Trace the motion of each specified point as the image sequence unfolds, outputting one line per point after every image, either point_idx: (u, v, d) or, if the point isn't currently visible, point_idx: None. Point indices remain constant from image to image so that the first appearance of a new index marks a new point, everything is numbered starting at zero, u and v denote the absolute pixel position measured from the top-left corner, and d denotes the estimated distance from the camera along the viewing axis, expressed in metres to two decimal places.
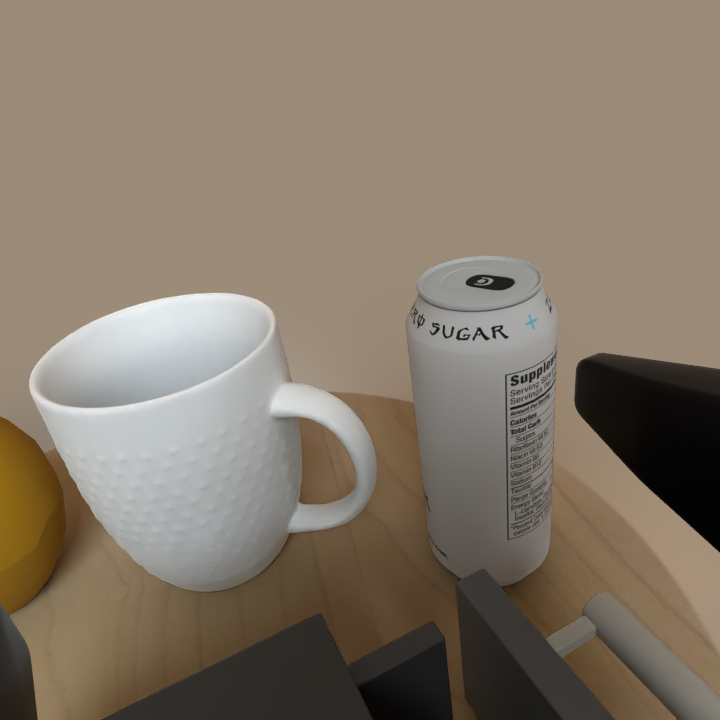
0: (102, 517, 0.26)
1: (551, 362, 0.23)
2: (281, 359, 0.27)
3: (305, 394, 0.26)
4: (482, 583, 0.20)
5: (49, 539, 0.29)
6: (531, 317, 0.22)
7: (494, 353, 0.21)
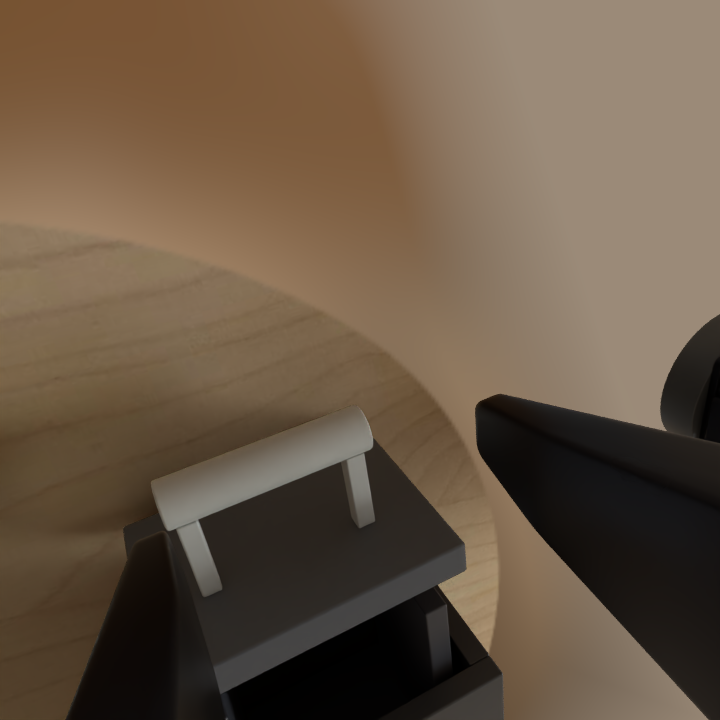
0: None
1: None
2: None
3: None
4: None
5: None
6: None
7: None
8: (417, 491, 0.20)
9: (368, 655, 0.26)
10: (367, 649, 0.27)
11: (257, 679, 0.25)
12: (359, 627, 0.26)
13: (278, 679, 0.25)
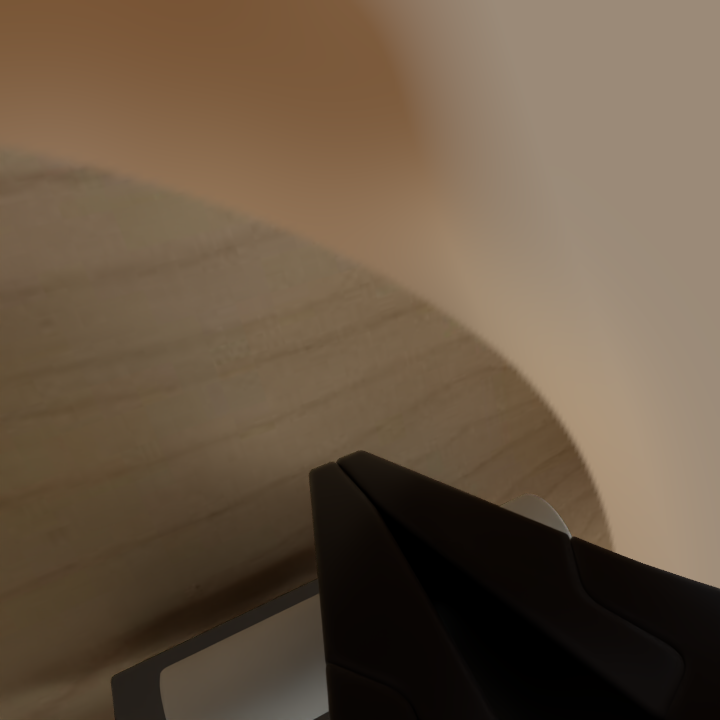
0: None
1: None
2: None
3: None
4: None
5: None
6: None
7: None
8: None
9: None
10: None
11: None
12: None
13: None
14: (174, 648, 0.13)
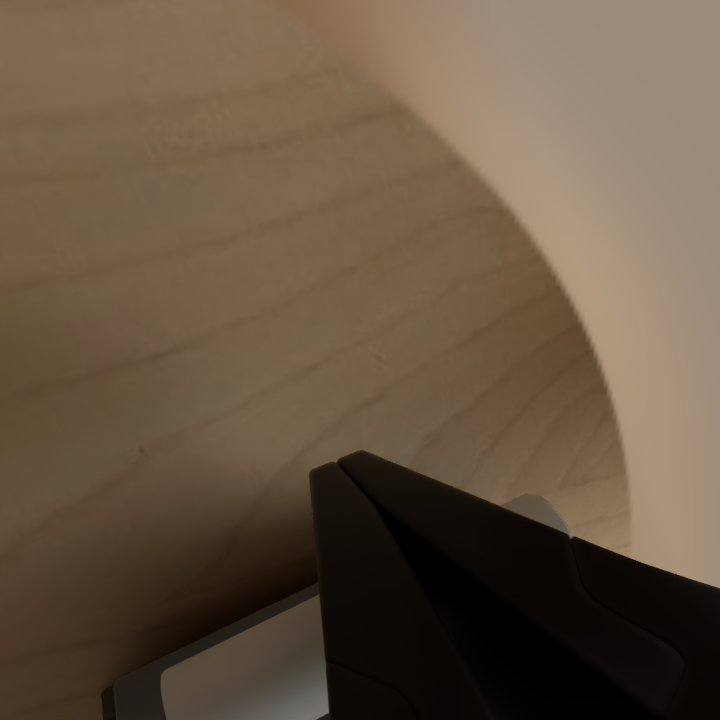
0: None
1: None
2: None
3: None
4: None
5: None
6: None
7: None
8: None
9: None
10: None
11: None
12: None
13: None
14: (176, 652, 0.13)
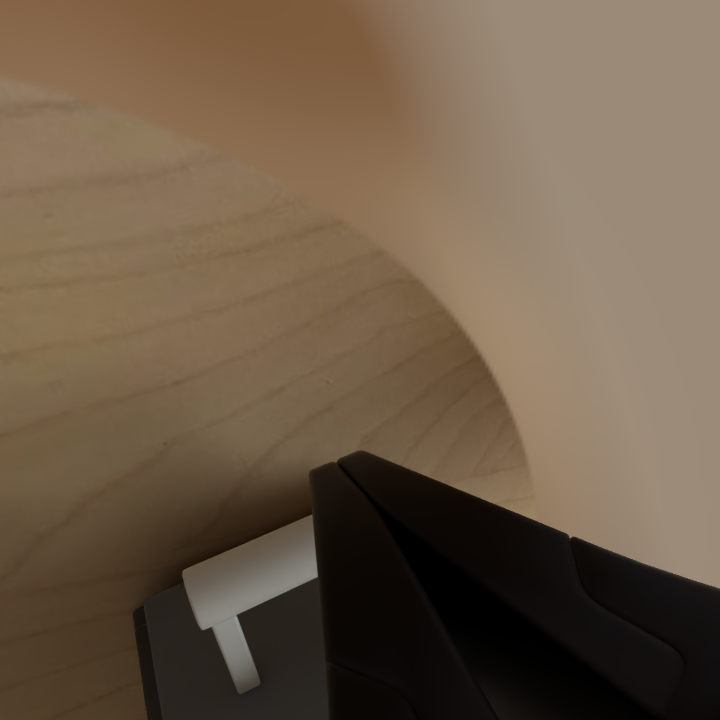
0: None
1: None
2: None
3: None
4: None
5: None
6: None
7: None
8: None
9: None
10: None
11: None
12: None
13: None
14: None
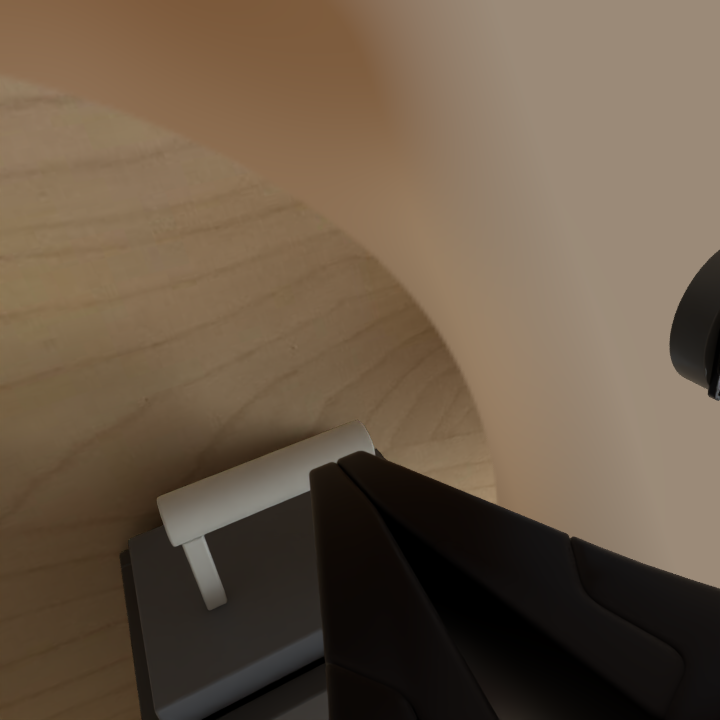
0: None
1: None
2: None
3: None
4: (180, 712, 0.15)
5: None
6: None
7: None
8: None
9: None
10: None
11: None
12: None
13: None
14: None
